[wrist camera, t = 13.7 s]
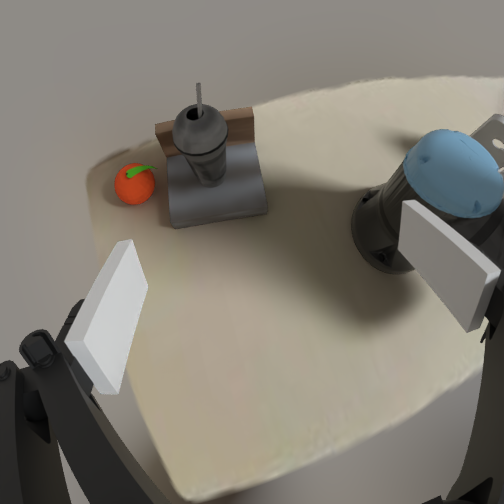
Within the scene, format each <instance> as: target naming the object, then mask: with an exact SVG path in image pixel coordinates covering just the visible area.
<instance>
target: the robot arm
mask: <svg viewBox="0 0 504 504" xmlns="http://www.w3.org/2000/svg"><path fill="white" fill-rule="evenodd" d="M498 169H499V167H498V165H497V163H496V161H495V160H494V158H493V157H492V156H491V154H490V153H489V152H488V151H487V150H486V149H485V148H484V147H483V146H482V145H481V144H480V143H479V142H477V141H476V140H474V139H473V138H471V137H470V136H468V135H466V134H464V133H461V132H458V131H450V130H448V129H440V130H435V131H432V132H429V133H428V134H426V135H425V136H423V137H422V138H421V139H420V141H419V142H418V143H417V144H416V145H415V146H413V147H412V148H411V149H410V150H409V151H408V152H407V154H406V157H405V159H404V161H403V162H402V164H401V165H400V166H399V168H398V169H397V170H396V172H395V173H394V174H393V175H392V177H391V178H390V179H389V180H388V182H387V183H384V184H381V185H378V186H376V187H374V188H372V189H370V190H369V191H368V192H366V193H365V194H364V195H363V197H362V198H361V199H360V201H359V202H358V203H357V205H356V207H355V209H354V212H353V215H352V223H351V225H352V234H353V238H354V241H355V244H356V246H357V248H358V250H359V252H360V253H361V254H362V256H363V257H364V258H365V259H366V260H367V261H368V262H369V263H370V264H371V265H372V266H374V267H375V268H377V269H379V270H381V271H383V272H386V273H390V274H404V273H407V272H410V271H412V270H414V269H416V271H417V272H418V273H419V274H420V275H421V276H422V278H423V279H424V280H425V281H426V282H427V283H428V285H429V286H430V287H431V288H432V289H433V291H434V292H435V293H436V294H437V296H438V297H439V298H440V299H441V300H442V302H443V303H444V304H445V305H446V307H447V308H448V309H449V311H450V312H451V313H452V314H453V316H454V317H455V318H456V320H457V321H458V322H459V323H460V325H461V326H462V327H463V329H464V330H465V331H466V333H468V332H470V331H473V330H475V329H478V328H480V326H481V323H482V321H483V319H484V316H485V317H486V318H487V319H488V320H489V323H488V325H487V327H486V330H485V332H484V334H483V336H482V338H481V341H480V343H482V342H483V340H484V339H485V338H486V341H485V354H484V364H483V372H482V380H481V387H480V393H479V400H478V406H477V411H476V416H475V421H474V425H473V430H472V434H471V438H470V442H469V446H468V450H467V454H466V457H465V460H464V464H463V467H462V470H461V473H460V476H459V477H458V479H457V481H456V482H455V484H454V485H453V487H452V488H451V490H450V492H449V494H448V496H447V498H446V500H442V499H441V496H438V497H436V498H434V499H431V500H429V501H427V502H425V503H422V504H504V199H503V194H504V182H503V177H502V175H501V174H500V173H498V172H497V171H498ZM147 290H148V285H147V282H146V279H145V276H144V273H143V270H142V268H141V265H140V262H139V259H138V256H137V253H136V250H135V247H134V243H133V240H132V239H129V240H124V241H118V242H117V244H116V245H115V247H114V249H113V250H112V252H111V254H110V255H109V257H108V259H107V261H106V262H105V264H104V266H103V268H102V269H101V271H100V273H99V275H98V277H97V278H96V280H95V282H94V284H93V285H92V287H91V289H90V291H89V293H88V295H87V297H86V299H82V300H80V301H79V302H78V303H77V304H76V305H75V306H74V307H73V308H72V309H71V311H70V313H69V315H68V318H67V319H66V321H65V323H64V326H63V327H62V329H61V331H60V333H59V335H58V337H57V339H56V341H54V340H53V338H52V337H51V335H50V334H49V333H48V331H47V330H43V329H42V330H36V331H34V332H32V333H30V334H29V335H28V336H26V337H25V338H24V340H23V341H22V342H21V345H20V347H19V352H20V354H21V355H22V356H23V358H24V359H25V361H26V362H27V363H28V365H29V367H26V368H23V369H19V368H18V367H17V365H16V364H15V363H14V362H13V361H10V360H9V361H5V362H3V363H1V364H0V504H71V500H70V497H69V493H68V489H67V485H66V481H65V477H64V472H63V468H62V463H61V458H60V453H59V447H58V442H59V445H60V447H61V449H62V451H63V453H64V456H65V458H66V460H67V462H68V464H69V466H70V468H71V470H72V472H73V474H74V476H75V478H76V479H77V481H78V483H79V485H80V487H81V489H82V490H83V492H84V494H85V496H86V497H87V499H88V501H89V502H90V504H171V503H170V501H169V500H168V499H167V498H166V497H165V496H164V494H163V493H162V492H161V491H160V490H159V489H158V488H157V486H156V485H155V484H154V483H153V481H152V480H151V479H150V478H149V476H148V475H147V474H146V473H145V471H144V470H143V469H142V468H141V466H140V465H139V464H138V462H137V461H136V460H135V458H134V457H133V455H132V454H131V453H130V451H129V450H128V449H127V447H126V446H125V444H124V443H123V442H122V440H121V439H120V437H119V436H118V434H117V433H116V431H115V430H114V428H113V427H112V425H111V423H110V422H109V420H108V419H107V417H106V416H105V414H104V413H103V411H102V409H101V407H100V406H99V404H98V403H97V401H96V399H95V397H94V396H93V395H92V394H91V391H92V387H93V384H94V386H95V387H96V388H97V390H98V391H99V392H100V394H118V393H119V390H120V386H121V381H122V377H123V373H124V369H125V366H126V362H127V358H128V354H129V351H130V347H131V343H132V340H133V336H134V333H135V329H136V326H137V322H138V319H139V315H140V312H141V309H142V306H143V302H144V299H145V296H146V293H147ZM57 440H58V441H57Z"/></svg>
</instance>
